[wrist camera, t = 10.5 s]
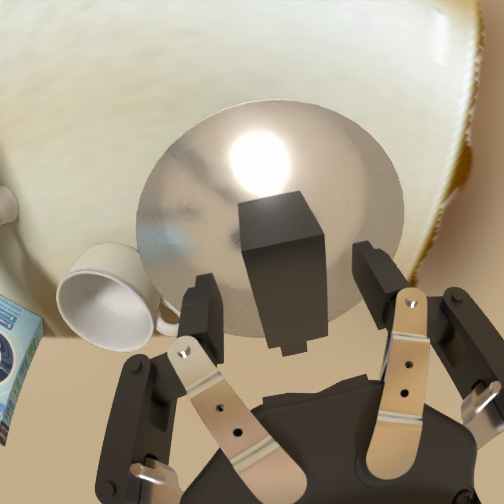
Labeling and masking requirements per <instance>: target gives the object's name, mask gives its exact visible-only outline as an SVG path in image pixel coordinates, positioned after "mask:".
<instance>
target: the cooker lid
mask: <svg viewBox="0 0 504 504" xmlns="http://www.w3.org/2000/svg"><path fill="white" fill-rule="evenodd" d="M403 223H404V201H403V193H402V189H401V185H400V181H399V178H398V175H397V173H396V171H395V168H394V166H393V164H392V162H391V160H390V159H389V157H388V156H387V154H386V153H385V151H384V150H383V148H382V147H381V146H380V145H379V144H378V142H377V141H376V140H375V139H374V138H373V137H372V136H371V135H370V134H369V133H368V132H367V131H365V130H364V129H363V128H362V127H360V126H359V125H358V124H356V123H355V122H353V121H352V120H350V119H348V118H346V117H345V116H343V115H341V114H339V113H337V112H334V111H332V110H329V109H326V108H324V107H321V106H318V105H315V104H311V103H307V102H302V101H296V100H290V99H263V100H255V101H247V102H244V103H240V104H236V105H233V106H229V107H226V108H224V109H222V110H220V111H217V112H215V113H213V114H211V115H209V116H207V117H205V118H204V119H202V120H201V121H199V122H197V123H196V124H194V125H193V126H191V127H190V128H189V129H188V130H186V131H185V132H184V133H183V134H182V135H181V136H180V137H179V138H177V139H176V140H175V141H174V142H173V144H172V145H171V146H170V147H169V148H168V149H167V151H166V152H165V153H164V154H163V156H162V157H161V158H160V159H159V161H158V162H157V163H156V165H155V167H154V168H153V170H152V172H151V174H150V175H149V177H148V179H147V181H146V184H145V186H144V189H143V191H142V194H141V197H140V201H139V206H138V210H137V218H136V237H137V246H138V250H139V254H140V258H141V261H142V264H143V266H144V268H145V271H146V273H147V275H148V277H149V278H150V280H151V282H152V283H153V285H154V286H155V288H156V289H157V290H158V292H159V293H160V294H161V295H162V296H163V298H164V299H165V300H166V301H167V302H168V303H169V304H171V305H172V306H173V307H174V308H175V309H176V310H178V311H179V312H180V313H181V306H182V300H183V296H184V294H185V292H186V291H187V289H188V288H191V287H195V281H196V276H197V275H202V274H207V273H213V275H214V278H215V280H216V283H217V286H218V288H219V291H220V293H221V296H222V300H223V307H224V333H226V334H231V335H236V336H244V337H265V338H266V341H267V345H268V348H269V349H270V348H275V347H280V346H285V345H290V344H295V343H299V342H304V341H308V340H313V339H317V338H321V337H326V336H328V322H329V321H332V320H334V319H335V318H337V317H339V316H341V315H342V314H344V313H346V312H347V311H348V310H350V309H351V308H353V307H354V306H355V305H357V304H358V303H359V302H360V301H361V300H362V299H363V297H362V295H361V293H360V291H359V289H358V287H357V285H356V283H355V281H354V278H353V275H352V244H353V243H357V242H361V241H366V240H368V241H369V242H370V243H371V245H372V246H373V248H374V249H378V248H380V249H381V250H383V251H385V252H386V253H388V255H389V256H390V257H391V259H392V260H393V258H394V256H395V254H396V251H397V249H398V246H399V242H400V239H401V236H402V230H403Z"/></svg>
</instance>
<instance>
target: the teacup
mask: <svg viewBox="0 0 504 504" xmlns="http://www.w3.org/2000/svg"><path fill="white" fill-rule="evenodd" d="M56 302H57V306H58V309H59V312H60V314H61V316H62V317H63V319H64V321H65V322H66V323H67V325H68V326H69V327H70V328H71V329H72V330H73V331H74V332H75V333H76V334H77V335H79V336H80V337H81V338H82V339H84V340H85V341H87V342H89V343H91V344H92V345H94V346H96V347H99V348H102V349H105V350H109V351H114V352H132V351H136V350H139V349H141V348H142V347H144V346H145V345H146V344H147V343H148V342H149V341H150V339H151V337H152V335H153V332H154V329H156V330H157V331H158V332H160V333H161V334H163V335H165V336H168V337H177V333H178V326H179V323H177V324H169V323H167V322H165V321H164V320H163V319H162V317H161V312H160V310H159V304H163V305H165V306H166V307H168V308H170V309H171V310H172V311H173V312H175V313H176V314H177V316H178V317H179V318H180V312H179V311H178V310H176V309H175V308H174V307H173V306H172V305H171V304H169V303H168V302H167V301H166V300H165V299H164V298H163V296H162V295H161V294H160V293H159V292H158V290H157V289H156V288H155V286H154V285H153V283H152V282H151V280H150V278H149V277H148V275H147V273H146V271H145V268H144V266H143V264H142V261H141V258H140V254H139V252H138V251H136V250H135V249H133V248H131V247H129V246H126V245H123V244H119V243H102V244H98V245H95V246H93V247H91V248H90V249H88V250H87V251H86V252H84V253H83V254H82V255H81V257H80V258H79V259H78V260H77V261H76V263H75V264H74V265H73V266H72V268H71V269H70V271H69V272H68V274H67V275H66V276H65V277H64V278H63V279H62V280H61V282H60V283H59V285H58V288H57V292H56Z"/></svg>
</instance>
